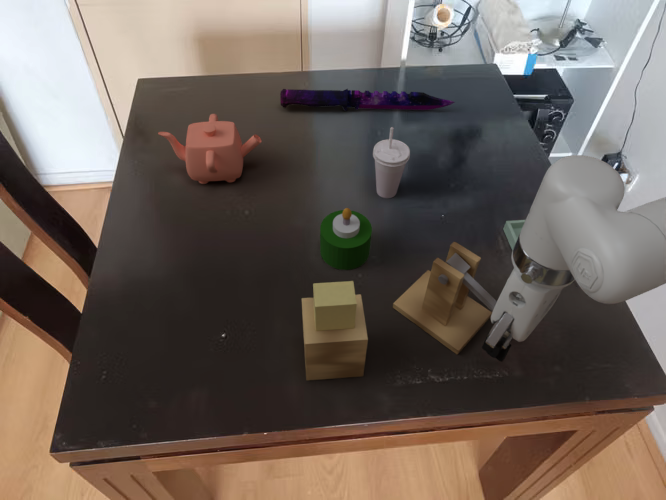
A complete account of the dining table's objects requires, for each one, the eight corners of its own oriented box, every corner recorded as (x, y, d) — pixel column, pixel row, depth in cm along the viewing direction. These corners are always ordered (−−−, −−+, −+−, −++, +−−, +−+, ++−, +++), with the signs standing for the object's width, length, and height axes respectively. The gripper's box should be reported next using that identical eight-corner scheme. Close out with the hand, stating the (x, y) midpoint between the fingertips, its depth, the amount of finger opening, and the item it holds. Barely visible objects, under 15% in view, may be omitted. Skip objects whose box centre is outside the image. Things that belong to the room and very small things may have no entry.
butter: (351, 305, 71) (353, 280, 67) (354, 328, 69) (356, 304, 64) (313, 308, 70) (313, 283, 66) (315, 331, 68) (315, 306, 64)
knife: (281, 113, 114) (279, 93, 111) (282, 103, 117) (281, 83, 113) (454, 117, 114) (458, 97, 111) (452, 107, 117) (456, 87, 113)
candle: (311, 256, 89) (309, 215, 81) (336, 225, 94) (337, 183, 86) (354, 277, 86) (357, 236, 79) (378, 244, 91) (383, 202, 83)
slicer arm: (522, 320, 74) (532, 314, 72) (503, 343, 72) (512, 338, 70) (453, 254, 76) (461, 246, 74) (433, 274, 74) (440, 267, 72)
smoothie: (387, 174, 102) (394, 113, 92) (411, 193, 99) (421, 131, 89) (362, 189, 100) (367, 127, 89) (385, 208, 97) (393, 147, 86)
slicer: (490, 316, 82) (513, 264, 72) (457, 355, 78) (476, 305, 68) (427, 274, 87) (440, 219, 77) (392, 307, 83) (401, 254, 73)
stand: (357, 333, 80) (361, 294, 72) (363, 376, 75) (367, 339, 68) (303, 337, 79) (301, 298, 72) (306, 380, 75) (304, 344, 67)
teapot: (228, 139, 108) (221, 96, 101) (267, 168, 103) (262, 125, 95) (168, 172, 102) (156, 129, 94) (206, 205, 96) (195, 161, 89)
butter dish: (579, 275, 87) (583, 267, 86) (524, 280, 87) (528, 272, 85) (553, 225, 95) (557, 217, 93) (503, 229, 94) (506, 220, 92)
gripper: (540, 321, 55) (496, 396, 69) (612, 230, 64) (561, 314, 77) (478, 281, 58) (448, 360, 72) (554, 199, 67) (515, 285, 80)
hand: (507, 336), depth 75 cm, fingers open, 6 cm apart
